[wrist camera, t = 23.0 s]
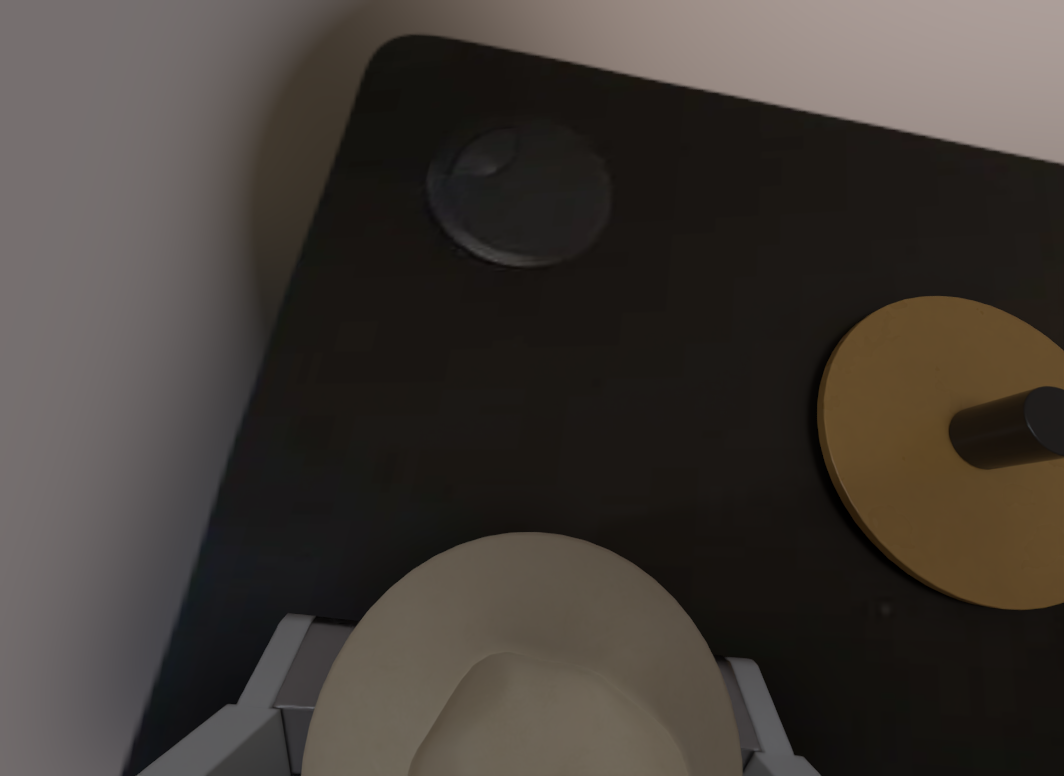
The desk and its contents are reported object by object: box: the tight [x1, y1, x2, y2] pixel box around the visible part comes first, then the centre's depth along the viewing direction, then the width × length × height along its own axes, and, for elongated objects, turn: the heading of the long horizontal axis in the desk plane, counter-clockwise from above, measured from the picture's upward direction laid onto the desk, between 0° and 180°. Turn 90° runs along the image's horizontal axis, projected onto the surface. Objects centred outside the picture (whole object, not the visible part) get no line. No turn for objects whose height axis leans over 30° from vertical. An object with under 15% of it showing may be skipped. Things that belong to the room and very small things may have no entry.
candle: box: [301, 532, 743, 776], centre depth 10 cm, size 6×6×10 cm
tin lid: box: [817, 296, 1064, 610], centre depth 19 cm, size 12×12×4 cm
